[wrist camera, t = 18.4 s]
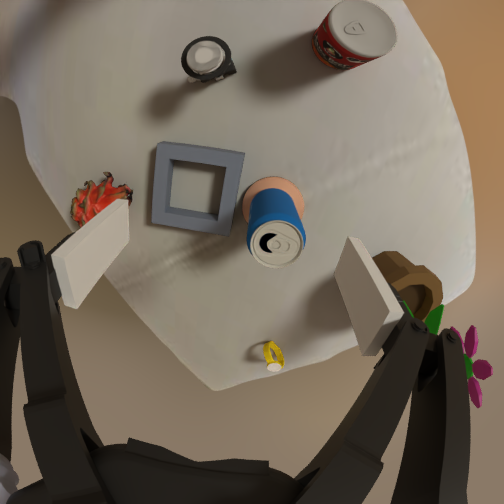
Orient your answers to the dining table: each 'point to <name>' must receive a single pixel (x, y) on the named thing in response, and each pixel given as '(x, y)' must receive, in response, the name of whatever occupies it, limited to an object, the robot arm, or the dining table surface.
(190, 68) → the push button
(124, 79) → the dining table surface
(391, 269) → the flowerpot
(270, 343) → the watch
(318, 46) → the canned food
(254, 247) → the beverage can
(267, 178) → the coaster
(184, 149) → the grey square frame
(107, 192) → the dragon fruit
